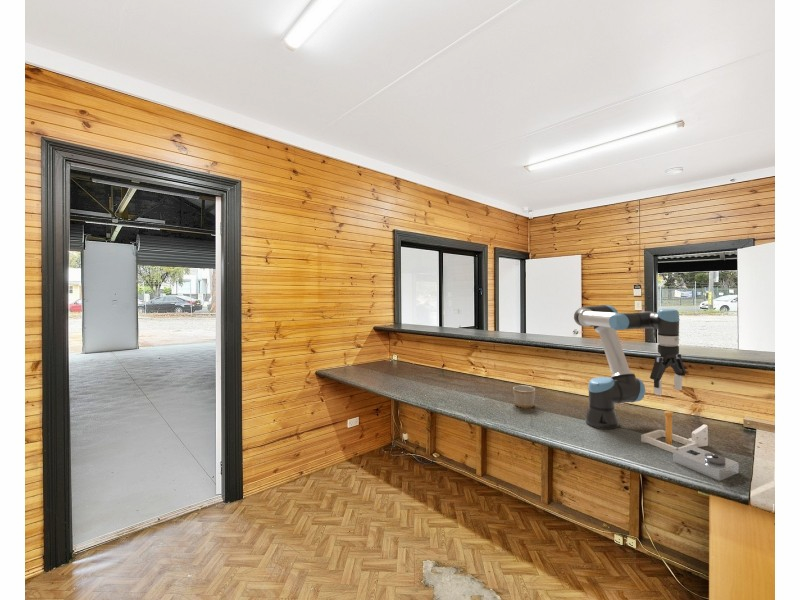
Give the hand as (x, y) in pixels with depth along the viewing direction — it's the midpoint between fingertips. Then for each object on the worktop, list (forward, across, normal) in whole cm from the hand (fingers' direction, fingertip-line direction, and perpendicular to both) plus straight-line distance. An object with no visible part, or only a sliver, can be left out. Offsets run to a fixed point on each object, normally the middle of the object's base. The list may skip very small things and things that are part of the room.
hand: (668, 392), depth 162 cm
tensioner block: (+24, -8, -18) cm, 31 cm away
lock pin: (+24, 0, 0) cm, 24 cm away
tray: (+24, 0, 0) cm, 25 cm away
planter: (+25, -20, +70) cm, 77 cm away
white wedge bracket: (+25, +10, -6) cm, 27 cm away
